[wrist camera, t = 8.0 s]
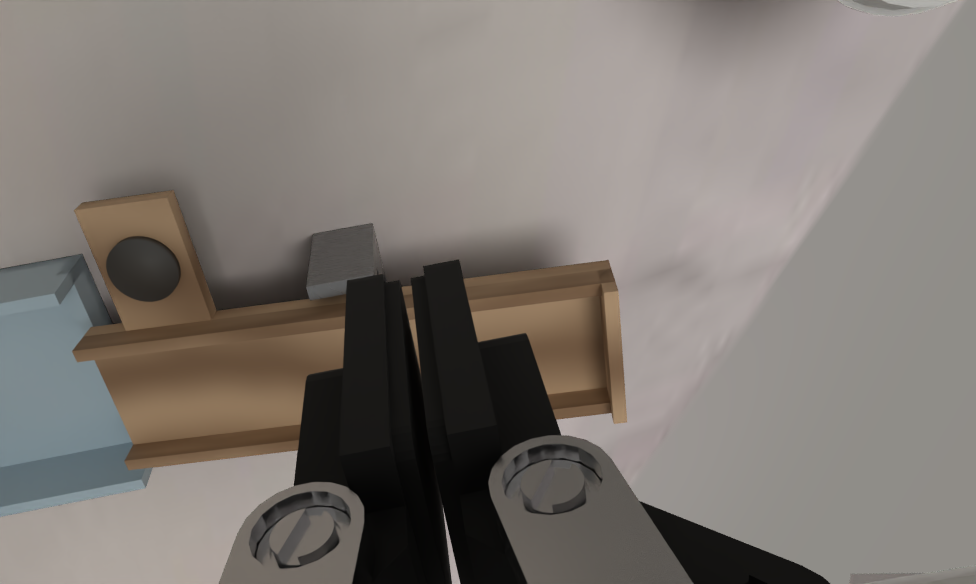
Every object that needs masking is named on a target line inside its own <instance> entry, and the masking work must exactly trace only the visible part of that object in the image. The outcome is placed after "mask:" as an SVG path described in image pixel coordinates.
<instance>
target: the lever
mask: <svg viewBox="0 0 976 584" xmlns="http://www.w3.org/2000/svg"><path fill="white" fill-rule="evenodd" d="M74 212H75V214H76V216H77V219H78V221H79V223H80V226H81V228H82V230H83V233H84V235H85V237H86V240H87V242H88V244H89V247H90V249H91V251H92V254H93V256H94V258H95V260H96V263H97V265H98V267H99V270H100V272H101V274H102V277H103V279H104V281H105V284H106V286H107V288H108V291H109V293H110V295H111V298H112V300H113V302H114V305H115V307H116V309H117V312H118V314H119V316H120V319H121V321H122V323H119V324H111V325H103V326H95V327H90V329H89V330H88V331H87V332H86V334H85V335H84V336H83V338H82V339H81V340H80V341H79V343H78V344H77V345H76V347H75V348H74V349H73V350H72V353H73V355H74V357H75V359H76V361H77V362H84V361H92V360H94V361H95V363H96V365H97V367H98V369H99V371H100V374H101V376H102V378H103V380H104V382H105V384H106V387H107V389H108V391H109V393H110V395H111V397H112V400H113V402H114V404H115V406H116V408H117V410H118V412H119V415H120V417H121V419H122V421H123V423H124V425H125V428H126V430H127V432H128V434H129V436H130V438H131V441H132V443H133V446H132V448H131V450H130V451H129V453H128V455H127V457H126V459H125V460H124V462H125V464H126V466H127V468H128V470H136V469H144V468H153V467H161V466H169V465H178V464H186V463H195V462H203V461H211V460H220V459H228V458H237V457H245V456H253V455H262V454H270V453H279V452H287V451H295V450H298V445H299V436H300V427H301V418H302V409H303V400H304V391H305V383H306V378H307V376H308V375H309V374H314V373H319V372H324V371H329V370H335V369H340V368H343V355H344V332H345V309H346V294H343V295H338V296H332V297H327V298H322V299H316V300H311V301H310V299H304V300H296V301H288V302H281V303H273V304H265V305H258V306H250V307H242V308H234V309H227V310H219V311H216V308H215V305H214V302H213V299H212V297H211V294H210V291H209V288H208V285H207V283H206V280H205V277H204V274H203V271H202V269H201V266H200V263H199V260H198V257H197V255H196V252H195V249H194V246H193V244H192V241H191V238H190V235H189V232H188V230H187V227H186V224H185V221H184V218H183V216H182V213H181V210H180V207H179V204H178V202H177V199H176V196H175V193H174V190H171V191H164V192H157V193H149V194H142V195H135V196H128V197H120V198H113V199H106V200H99V201H92V202H84V203H81V204H80V205H79V206H78V207H77V208H76V209H75V210H74ZM463 280H464V284H465V288H466V293H467V297H468V301H469V306H470V310H471V314H472V319H473V323H474V327H475V332H476V336H477V340H478V342H481V341H486V340H491V339H496V338H502V337H507V336H512V335H517V334H522V333H526V334H527V336H528V338H529V341H530V344H531V347H532V350H533V353H534V356H535V359H536V362H537V365H538V368H539V371H540V374H541V377H542V380H543V383H544V386H545V389H546V392H547V395H548V398H549V401H550V404H551V406H552V409H553V412H554V415H555V418H556V419H564V418H573V417H581V416H590V415H598V414H606V413H612V418H613V422H614V424H616V423H625V422H627V414H626V399H625V384H624V369H623V354H622V340H621V325H620V310H619V295H618V289H617V286H616V282H615V279H614V276H613V273H612V270H611V267H610V263H609V260H605V261H597V262H590V263H582V264H574V265H566V266H559V267H551V268H543V269H536V270H528V271H520V272H512V273H505V274H497V275H489V276H482V277H474V278H466V279H463ZM402 291H403V296H404V300H405V305H406V310H407V314H408V319H409V323H410V328H411V332H412V337H413V341H414V346H415V350H416V355H417V359H418V364H419V368H420V360H419V351H418V342H417V332H416V323H415V314H414V304H413V295H412V286H404V287H402ZM420 373H421V370H420Z"/></svg>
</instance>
